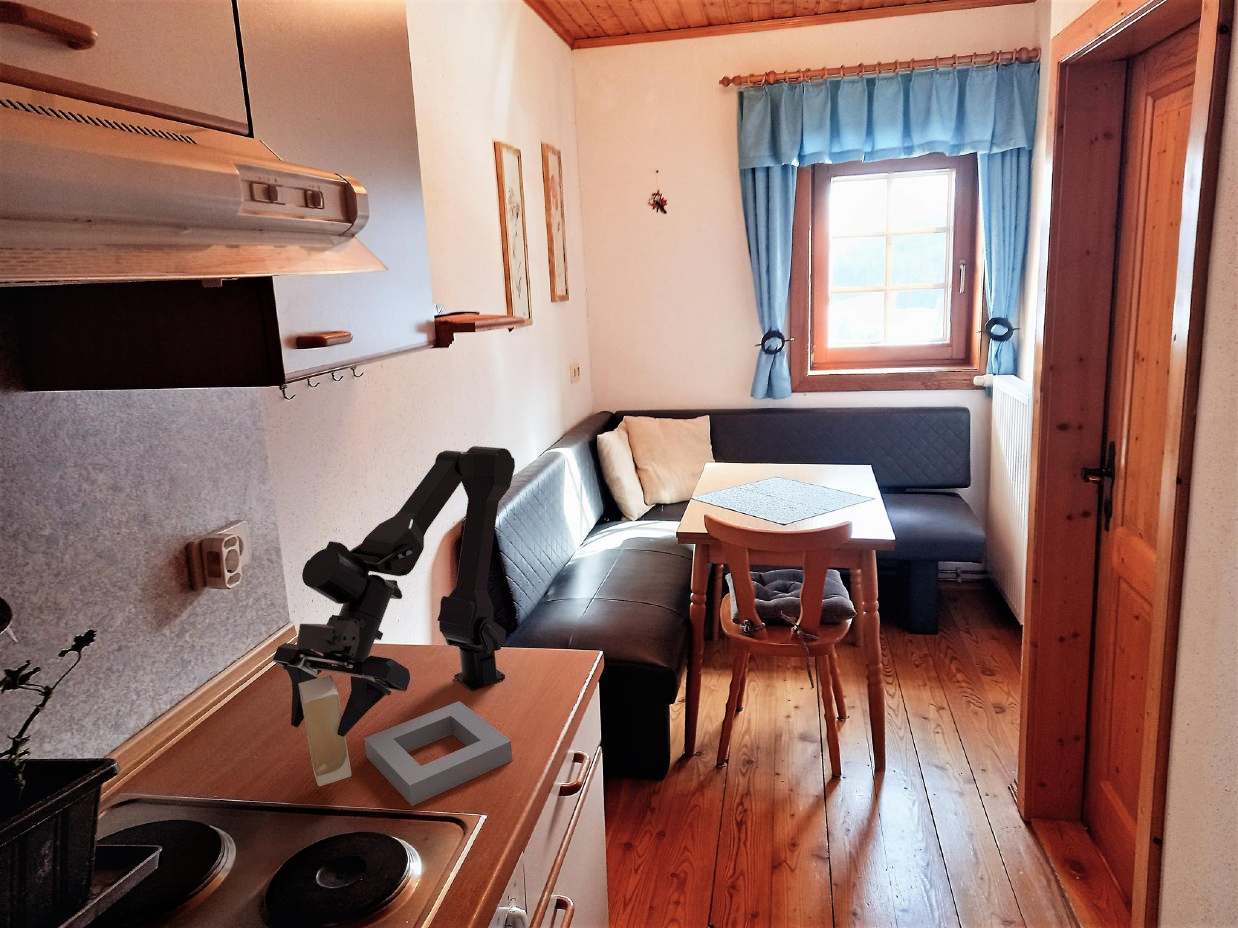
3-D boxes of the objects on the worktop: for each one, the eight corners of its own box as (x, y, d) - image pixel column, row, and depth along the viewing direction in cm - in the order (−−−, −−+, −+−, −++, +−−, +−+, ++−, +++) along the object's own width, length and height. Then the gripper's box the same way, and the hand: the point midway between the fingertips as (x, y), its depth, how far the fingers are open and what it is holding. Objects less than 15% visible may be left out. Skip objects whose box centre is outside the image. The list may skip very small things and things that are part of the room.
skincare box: (311, 764, 112) (296, 681, 110) (344, 754, 114) (331, 672, 111) (318, 788, 107) (302, 702, 104) (352, 777, 109) (338, 692, 106)
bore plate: (366, 756, 118) (364, 737, 118) (461, 718, 127) (459, 700, 127) (412, 806, 107) (409, 785, 106) (512, 760, 116) (510, 740, 115)
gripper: (271, 587, 112) (219, 703, 105) (386, 601, 105) (339, 725, 98) (319, 618, 121) (275, 726, 114) (428, 632, 114) (389, 748, 107)
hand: (316, 730), depth 108 cm, fingers closed on skincare box, 7 cm apart
